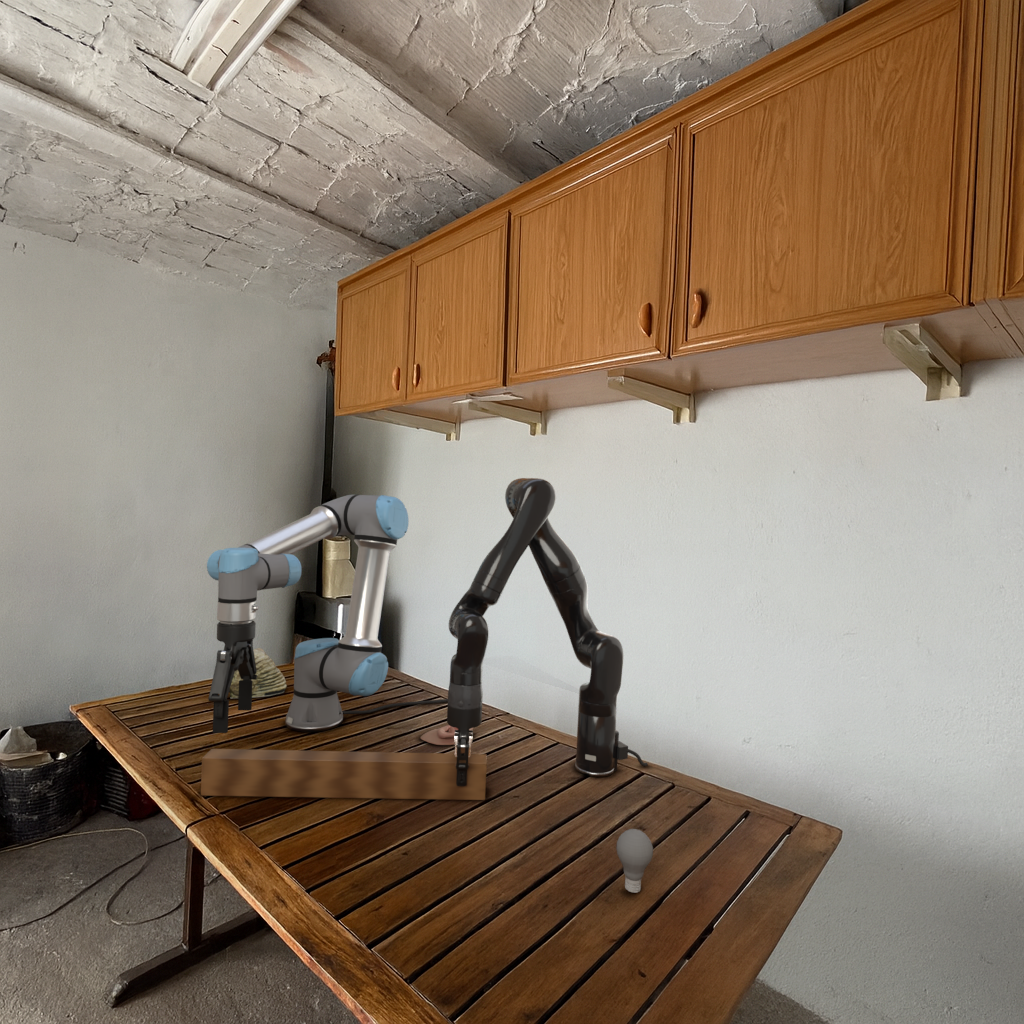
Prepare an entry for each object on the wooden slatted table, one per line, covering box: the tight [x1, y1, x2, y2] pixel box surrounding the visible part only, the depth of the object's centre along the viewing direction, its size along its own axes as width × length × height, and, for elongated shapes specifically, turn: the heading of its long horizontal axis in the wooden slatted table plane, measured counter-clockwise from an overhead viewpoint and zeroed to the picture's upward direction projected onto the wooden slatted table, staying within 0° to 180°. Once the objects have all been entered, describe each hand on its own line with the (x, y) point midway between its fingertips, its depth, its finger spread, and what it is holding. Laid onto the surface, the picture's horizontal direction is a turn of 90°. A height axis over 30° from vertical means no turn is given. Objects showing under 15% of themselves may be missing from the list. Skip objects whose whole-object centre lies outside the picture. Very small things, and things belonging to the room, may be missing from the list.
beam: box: [200, 748, 488, 801], centre depth 136 cm, size 59×5×8 cm, turn 93°
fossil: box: [229, 647, 288, 699], centre depth 198 cm, size 9×18×15 cm, turn 132°
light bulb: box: [615, 828, 654, 894], centre depth 106 cm, size 6×6×10 cm
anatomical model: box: [420, 724, 474, 746], centre depth 169 cm, size 13×4×12 cm
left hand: (233, 720), depth 135 cm, fingers open, 13 cm apart
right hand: (461, 779), depth 138 cm, fingers closed on beam, 5 cm apart
